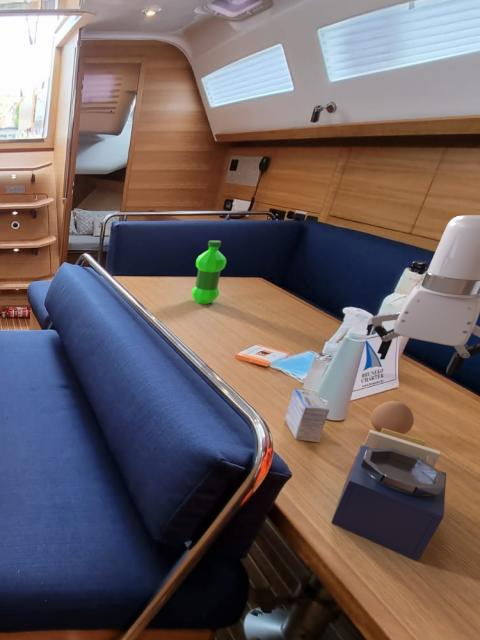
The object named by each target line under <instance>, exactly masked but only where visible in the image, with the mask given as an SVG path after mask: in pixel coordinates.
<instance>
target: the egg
mask: <svg viewBox="0 0 480 640" xmlns="http://www.w3.org/2000/svg"><path fill="white" fill-rule="evenodd" d="M414 422H415V418H414V414H413V411H412V410H411V408H410V407H409V406H408V405H406V404H405V403H403V402H401V401H397V400H389V401H385V402H383V403H381V404H379V405H378V406H376V407H375V408H374V409H373V411H372V413H371V415H370V423H371V426H372V427H373V429H374V431H377V432H380V433H381V430H382V428H385V429H388V430H391V431H394V432H398V433H401V434H404V435H407V433H409V432H410V431H411V430H412V428H413V425H414Z"/></svg>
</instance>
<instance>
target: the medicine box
mask: <svg viewBox="0 0 480 640" xmlns="http://www.w3.org/2000/svg"><path fill="white" fill-rule="evenodd" d="M329 412H330V409H329V407H328V406H327V405H326V403H325V402H324V400H323V399H322V398H321V397H320V395H319V394H318V393H317V391H314V390H306V389H293V391H292V393H291V396H290V401H289V404H288V405H287V410H286V413H285V417H284V421H285V423H286V424H287V426H288V428H289V430H290V432H291V434H292V435H293V437H294V439H295V440H297V441H298V440H299V441H303V442H310V443H311V442H312V443H319V442H320V439H321V436H322V434H323V432H324V431H323V430H324V427H325V425H326V422H327V419H328V416H329Z"/></svg>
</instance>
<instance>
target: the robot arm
mask: <svg viewBox="0 0 480 640" xmlns="http://www.w3.org/2000/svg"><path fill="white" fill-rule="evenodd" d="M479 316H480V214H467V215H466V214H465V215H457V216H456V217H453V218H451V219H450V220H449V222H448V223H447V225H446V227H445V229H444V231H443V234H442V235H441V238H440V240H439V242H438V244H437V247H436V250H435V252H434V254H433V257H432V259H431V261H430V263H429V266H428V269H427V271H426V272H425V275H424V278H423V279H422V282H421V284H417V285H414V287H413V288H412V289H411V291H410V292H409V294H408V295H407V297H406V299H405V300H404V302H403V304H402V307H401V309H400V311H397V312H391V313H390V312H389V313H383V314H377V315H373V316H372V317H371V323H372V326H373V329H374V332H375V333H376V334H377V336H379V338H380V340H381V342H380V345H379V348H378V351H377V354H378V355H380V357H379V360H381V361H383V360H385V359H386V356H387V355H388V352H389V351H390V347H391V345H392V342H393V340H394V339H396V338H399V337H403V338H408V339H414V340H419V341H423V342H427V343H433V344H439V345H444V346H451V347H453V348H454V349H455V351H456V352H454V353H453V355H452V357H451V359H450V361H449V363H448V365H447V367H446V372H445V374H446V375H447V376H452V375H453V374H454V371H455V372H460V370H461V368H462V367H463V364H464V362H465V360H466V359H468V358H470V357H472V356H475V355H478V354H480V343H476V344H473V345H471V346H468V345H467V343H468V342H469V339H470V337H471V335H472V334H473V335H474V336H476V337H478V338H479V339H480V326H479V325H477V321H478V318H479ZM390 321H395V322H394V327H393V328H392V329H389V330H387V329H386V328H385V327H384V325H383V323H384V322H390Z"/></svg>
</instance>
